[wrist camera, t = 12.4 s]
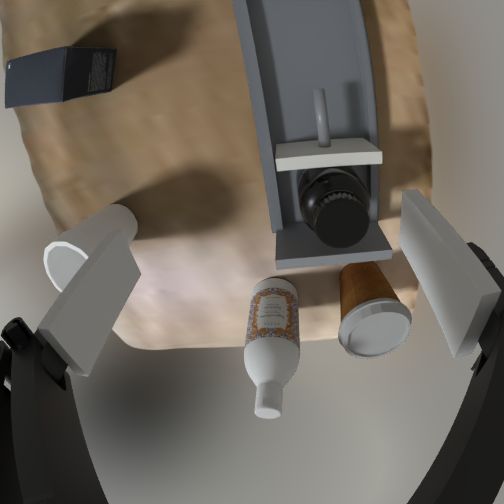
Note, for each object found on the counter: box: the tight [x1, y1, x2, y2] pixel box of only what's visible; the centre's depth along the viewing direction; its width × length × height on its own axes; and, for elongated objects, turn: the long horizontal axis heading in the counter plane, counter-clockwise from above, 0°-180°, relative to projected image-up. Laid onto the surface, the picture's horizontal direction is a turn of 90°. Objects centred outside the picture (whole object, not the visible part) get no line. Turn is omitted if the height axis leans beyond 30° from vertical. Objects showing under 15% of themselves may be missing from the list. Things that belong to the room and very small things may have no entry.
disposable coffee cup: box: [338, 261, 412, 359], centre depth 36 cm, size 10×10×12 cm
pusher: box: [276, 88, 382, 171], centre depth 26 cm, size 7×10×7 cm
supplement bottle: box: [296, 165, 370, 249], centre depth 28 cm, size 7×7×12 cm
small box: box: [5, 46, 116, 108], centre depth 23 cm, size 11×6×10 cm, turn 80°
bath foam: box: [244, 278, 300, 419], centre depth 36 cm, size 7×7×20 cm
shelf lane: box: [232, 0, 392, 270], centre depth 25 cm, size 34×14×9 cm, turn 9°
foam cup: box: [43, 204, 138, 293], centre depth 34 cm, size 10×9×13 cm
